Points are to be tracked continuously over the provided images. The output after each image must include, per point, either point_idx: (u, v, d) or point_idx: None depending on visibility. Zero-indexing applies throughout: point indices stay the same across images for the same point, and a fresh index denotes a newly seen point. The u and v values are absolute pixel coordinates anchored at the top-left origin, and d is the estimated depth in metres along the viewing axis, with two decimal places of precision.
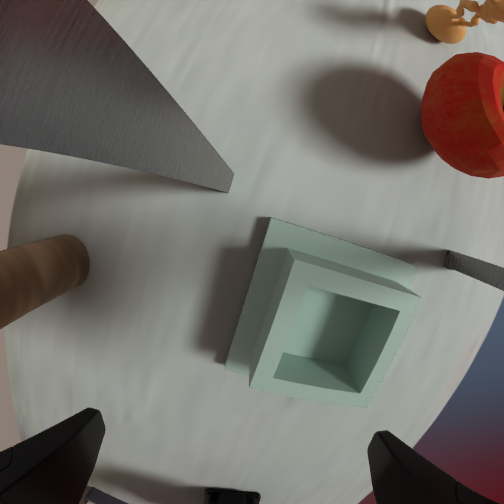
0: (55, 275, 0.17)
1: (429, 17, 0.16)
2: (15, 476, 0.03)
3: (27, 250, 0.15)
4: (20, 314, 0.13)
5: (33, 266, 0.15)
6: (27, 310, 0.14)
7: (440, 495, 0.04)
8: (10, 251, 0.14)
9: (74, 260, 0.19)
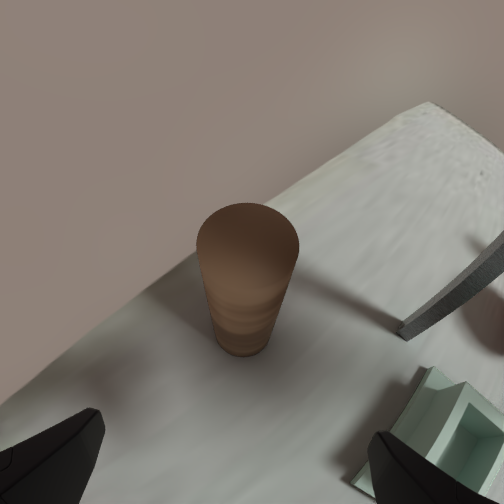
0: None
1: None
2: (15, 476, 0.03)
3: None
4: (258, 320, 0.15)
5: None
6: (257, 324, 0.16)
7: (441, 494, 0.04)
8: None
9: None
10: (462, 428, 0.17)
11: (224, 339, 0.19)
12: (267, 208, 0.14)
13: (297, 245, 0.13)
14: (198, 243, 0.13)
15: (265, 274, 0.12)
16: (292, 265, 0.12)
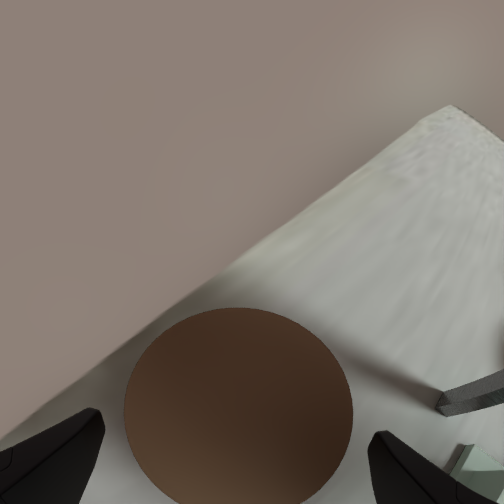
0: None
1: None
2: (16, 476, 0.03)
3: None
4: None
5: None
6: None
7: (441, 495, 0.04)
8: None
9: None
10: None
11: None
12: (284, 322, 0.06)
13: (349, 415, 0.05)
14: (128, 412, 0.05)
15: (277, 490, 0.04)
16: (336, 464, 0.04)
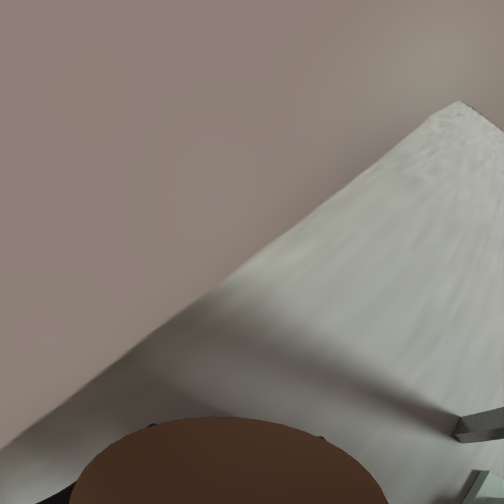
0: None
1: None
2: None
3: None
4: None
5: None
6: None
7: None
8: None
9: None
10: None
11: None
12: (301, 440, 0.03)
13: None
14: None
15: None
16: None
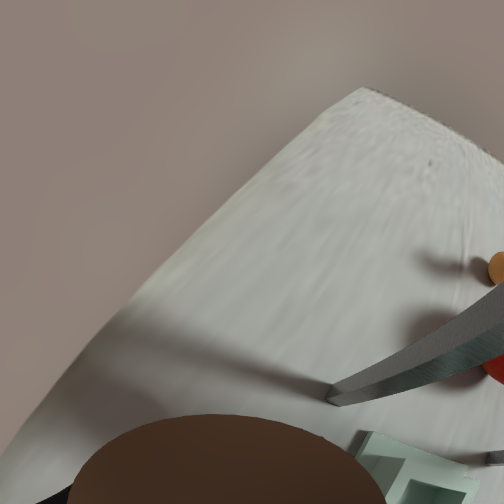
0: None
1: (493, 264, 0.25)
2: None
3: None
4: None
5: None
6: None
7: None
8: None
9: None
10: (416, 484, 0.15)
11: None
12: (299, 437, 0.03)
13: None
14: None
15: None
16: None
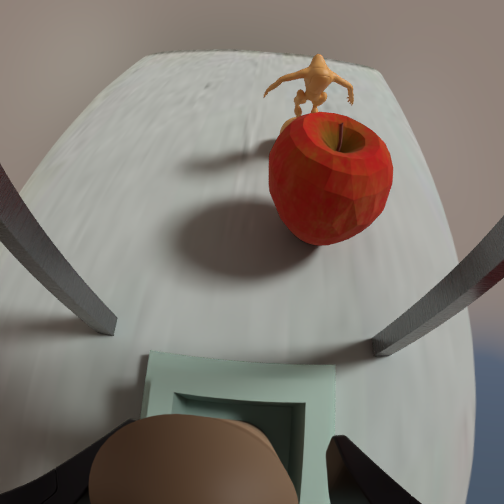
0: None
1: None
2: (65, 502, 0.03)
3: None
4: None
5: None
6: None
7: None
8: (260, 434, 0.09)
9: None
10: (247, 407, 0.16)
11: None
12: (231, 432, 0.05)
13: None
14: (92, 495, 0.04)
15: None
16: None
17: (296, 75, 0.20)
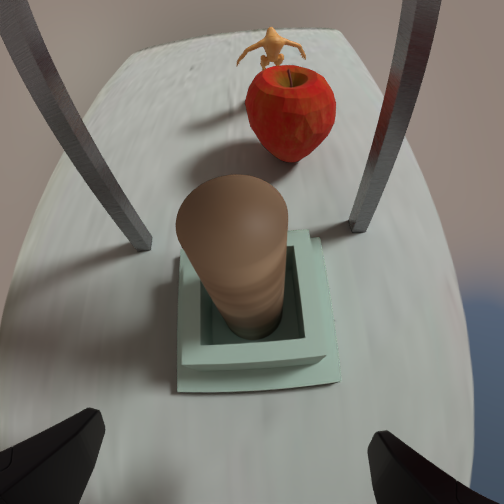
0: (282, 298, 0.18)
1: None
2: (16, 476, 0.03)
3: None
4: (260, 299, 0.14)
5: None
6: (260, 304, 0.15)
7: (441, 494, 0.04)
8: None
9: None
10: None
11: (232, 324, 0.18)
12: (248, 177, 0.12)
13: (286, 211, 0.11)
14: (177, 227, 0.11)
15: (253, 248, 0.11)
16: (282, 234, 0.11)
17: (256, 45, 0.26)
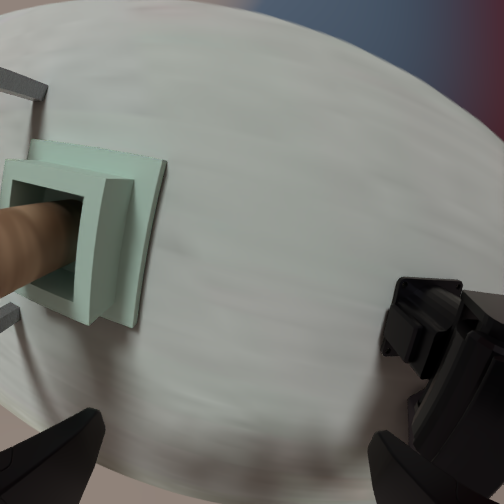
0: (41, 211, 0.13)
1: None
2: (16, 476, 0.03)
3: None
4: (12, 251, 0.10)
5: (8, 208, 0.11)
6: (22, 247, 0.11)
7: (440, 495, 0.04)
8: None
9: (63, 203, 0.16)
10: None
11: (62, 263, 0.15)
12: None
13: None
14: None
15: None
16: None
17: None
